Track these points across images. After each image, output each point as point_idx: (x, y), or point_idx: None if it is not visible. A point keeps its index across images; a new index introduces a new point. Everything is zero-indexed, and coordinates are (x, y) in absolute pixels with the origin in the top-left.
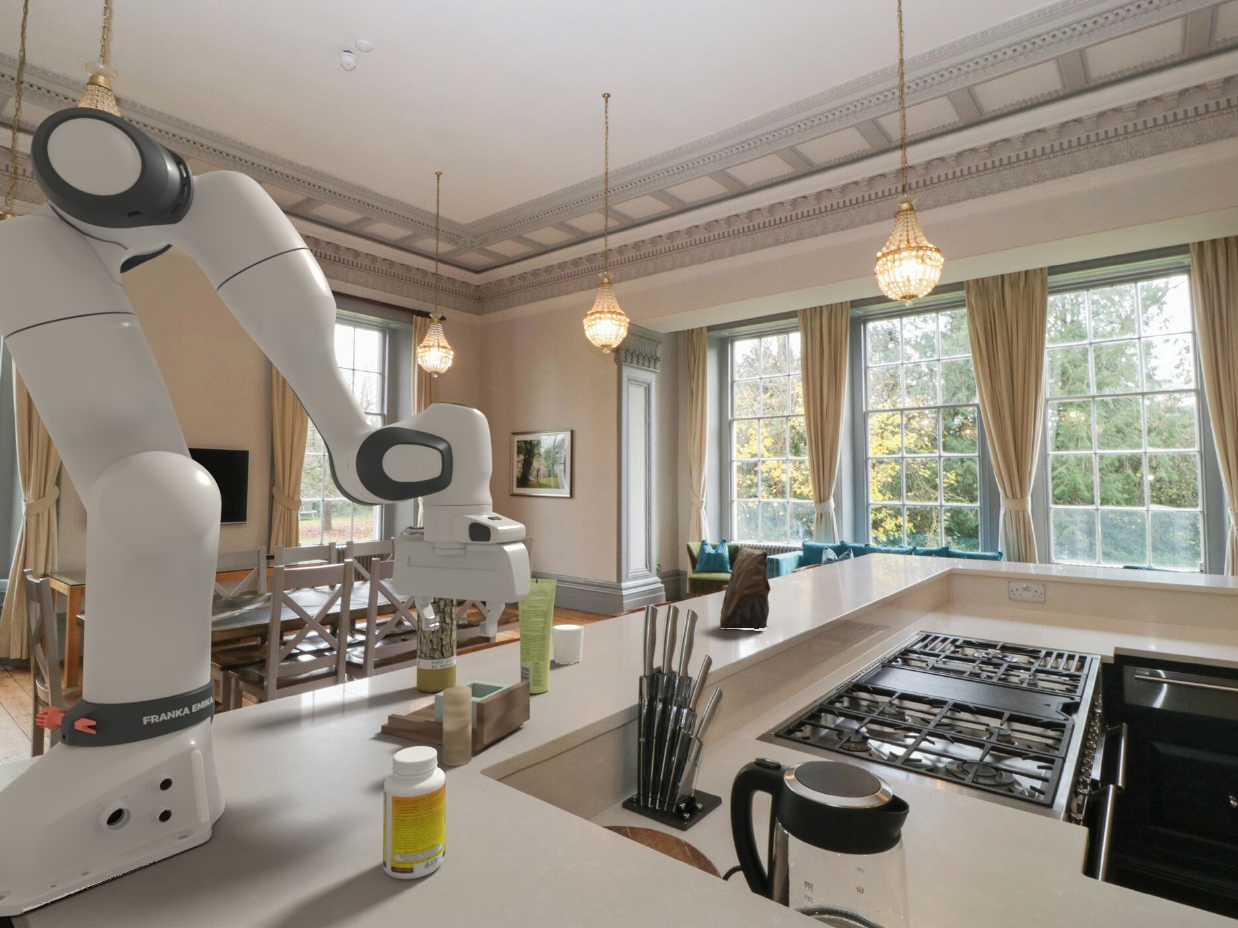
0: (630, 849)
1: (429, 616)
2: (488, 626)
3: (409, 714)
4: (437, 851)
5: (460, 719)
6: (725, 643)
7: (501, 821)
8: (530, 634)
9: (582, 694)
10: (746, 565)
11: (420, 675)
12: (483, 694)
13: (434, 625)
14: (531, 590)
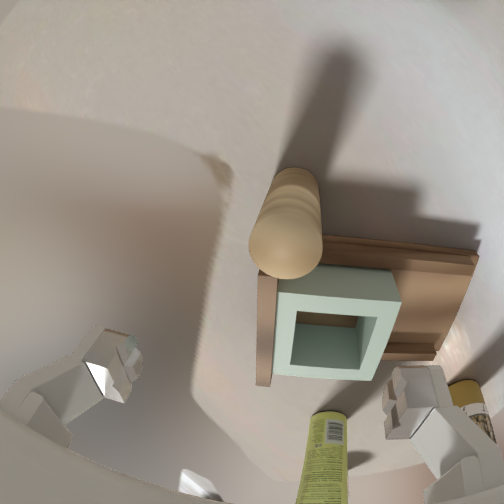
0: (10, 101)
1: (424, 423)
2: (76, 347)
3: (457, 306)
4: None
5: (265, 201)
6: (213, 490)
7: (113, 62)
8: (324, 480)
9: (263, 417)
10: None
11: (477, 395)
12: (336, 354)
13: (394, 394)
14: None
